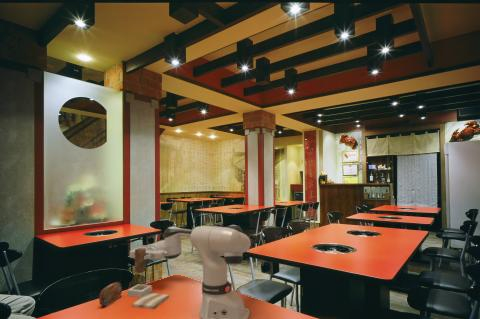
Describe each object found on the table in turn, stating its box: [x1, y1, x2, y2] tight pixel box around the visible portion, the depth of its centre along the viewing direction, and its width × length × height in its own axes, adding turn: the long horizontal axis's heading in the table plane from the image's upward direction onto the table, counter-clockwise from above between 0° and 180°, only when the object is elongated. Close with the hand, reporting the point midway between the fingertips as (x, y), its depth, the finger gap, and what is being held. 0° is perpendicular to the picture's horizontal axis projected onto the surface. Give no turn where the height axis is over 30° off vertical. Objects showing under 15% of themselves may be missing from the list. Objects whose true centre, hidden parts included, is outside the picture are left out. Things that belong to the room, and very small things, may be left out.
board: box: [131, 292, 170, 310], centre depth 142 cm, size 12×14×1 cm
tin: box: [98, 281, 123, 307], centre depth 143 cm, size 15×3×8 cm, turn 168°
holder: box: [127, 283, 153, 298], centre depth 153 cm, size 9×9×3 cm
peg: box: [134, 247, 147, 274], centre depth 154 cm, size 4×4×12 cm
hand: (139, 257), depth 154 cm, fingers closed on peg, 4 cm apart
